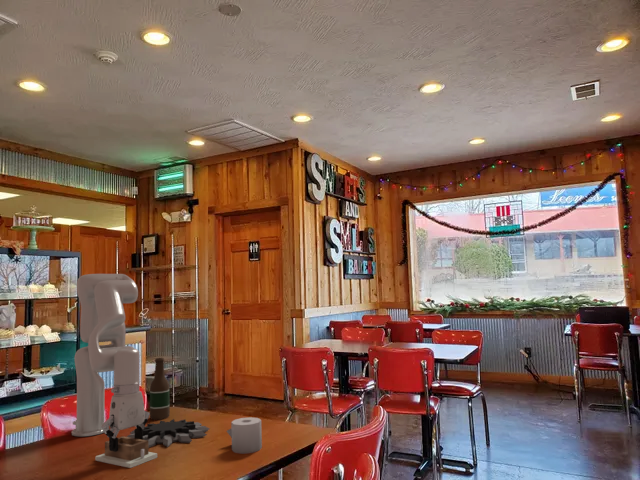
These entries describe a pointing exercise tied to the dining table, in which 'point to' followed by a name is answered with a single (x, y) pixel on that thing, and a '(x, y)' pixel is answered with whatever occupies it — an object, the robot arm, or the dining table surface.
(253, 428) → the toilet tissue
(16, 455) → the dining table surface
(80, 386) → the robot arm
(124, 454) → the frame
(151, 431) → the decorative piece
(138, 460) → the panel
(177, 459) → the dining table surface
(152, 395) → the beer bottle
